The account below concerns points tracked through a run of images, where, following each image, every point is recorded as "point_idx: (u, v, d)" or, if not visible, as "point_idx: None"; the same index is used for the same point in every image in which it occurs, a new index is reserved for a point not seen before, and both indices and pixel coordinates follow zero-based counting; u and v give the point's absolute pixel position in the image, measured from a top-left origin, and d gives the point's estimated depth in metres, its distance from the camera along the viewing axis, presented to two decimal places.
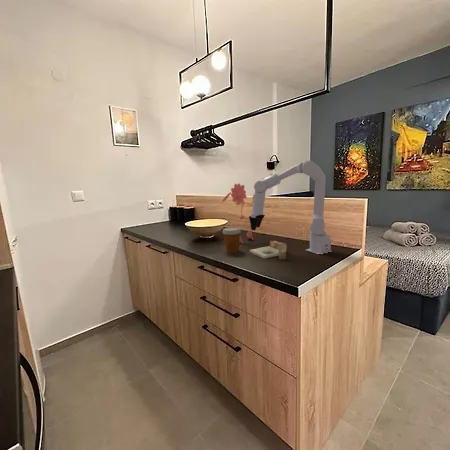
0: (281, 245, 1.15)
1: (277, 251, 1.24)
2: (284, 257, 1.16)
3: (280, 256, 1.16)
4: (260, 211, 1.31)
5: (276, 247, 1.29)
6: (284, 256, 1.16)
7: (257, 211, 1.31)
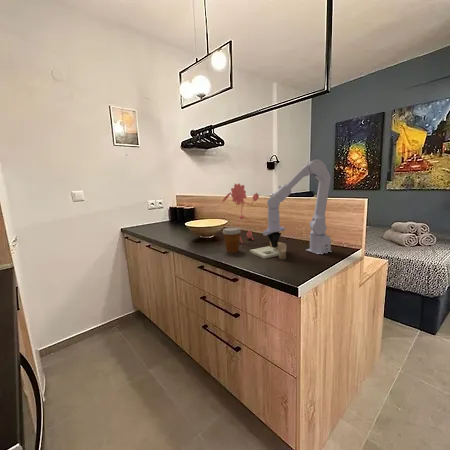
0: (281, 245, 1.15)
1: (277, 251, 1.24)
2: (284, 257, 1.16)
3: (280, 256, 1.16)
4: (274, 228, 1.24)
5: (276, 247, 1.29)
6: (284, 256, 1.16)
7: (271, 228, 1.25)
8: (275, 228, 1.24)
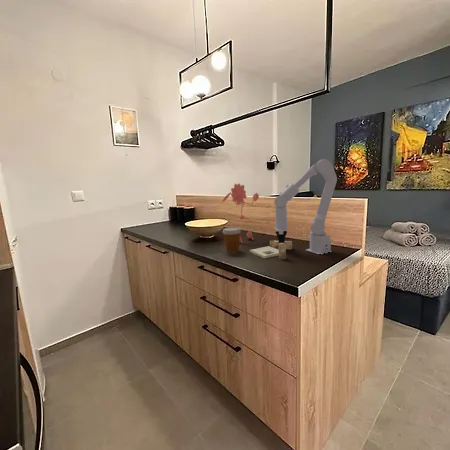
0: (281, 245, 1.15)
1: (277, 251, 1.24)
2: (284, 257, 1.16)
3: (280, 256, 1.16)
4: (285, 226, 1.27)
5: None
6: (284, 256, 1.16)
7: (282, 227, 1.26)
8: (285, 226, 1.27)
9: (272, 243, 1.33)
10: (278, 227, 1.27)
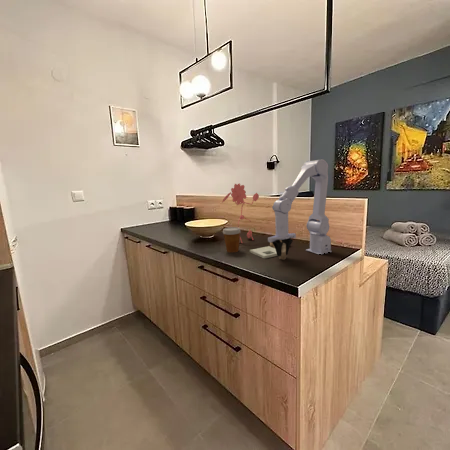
0: None
1: None
2: (284, 257, 1.16)
3: (280, 256, 1.16)
4: None
5: None
6: (284, 256, 1.16)
7: None
8: None
9: None
10: (288, 234, 1.15)
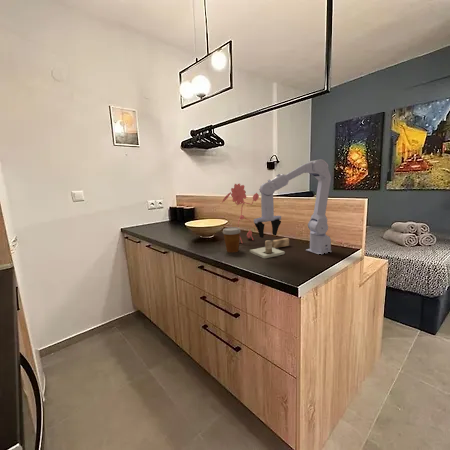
0: (267, 242, 1.21)
1: (277, 251, 1.24)
2: None
3: (266, 253, 1.22)
4: None
5: (281, 244, 1.35)
6: (270, 253, 1.22)
7: None
8: None
9: (274, 243, 1.33)
10: (273, 215, 1.20)
